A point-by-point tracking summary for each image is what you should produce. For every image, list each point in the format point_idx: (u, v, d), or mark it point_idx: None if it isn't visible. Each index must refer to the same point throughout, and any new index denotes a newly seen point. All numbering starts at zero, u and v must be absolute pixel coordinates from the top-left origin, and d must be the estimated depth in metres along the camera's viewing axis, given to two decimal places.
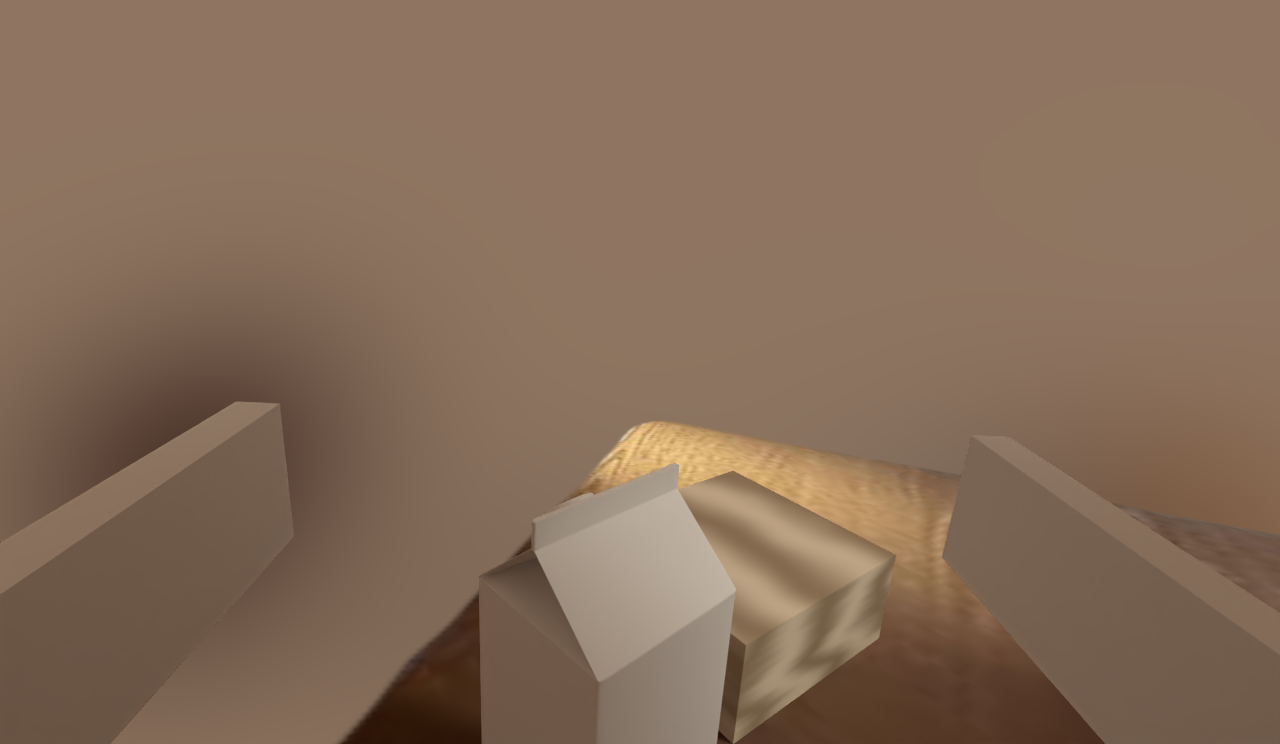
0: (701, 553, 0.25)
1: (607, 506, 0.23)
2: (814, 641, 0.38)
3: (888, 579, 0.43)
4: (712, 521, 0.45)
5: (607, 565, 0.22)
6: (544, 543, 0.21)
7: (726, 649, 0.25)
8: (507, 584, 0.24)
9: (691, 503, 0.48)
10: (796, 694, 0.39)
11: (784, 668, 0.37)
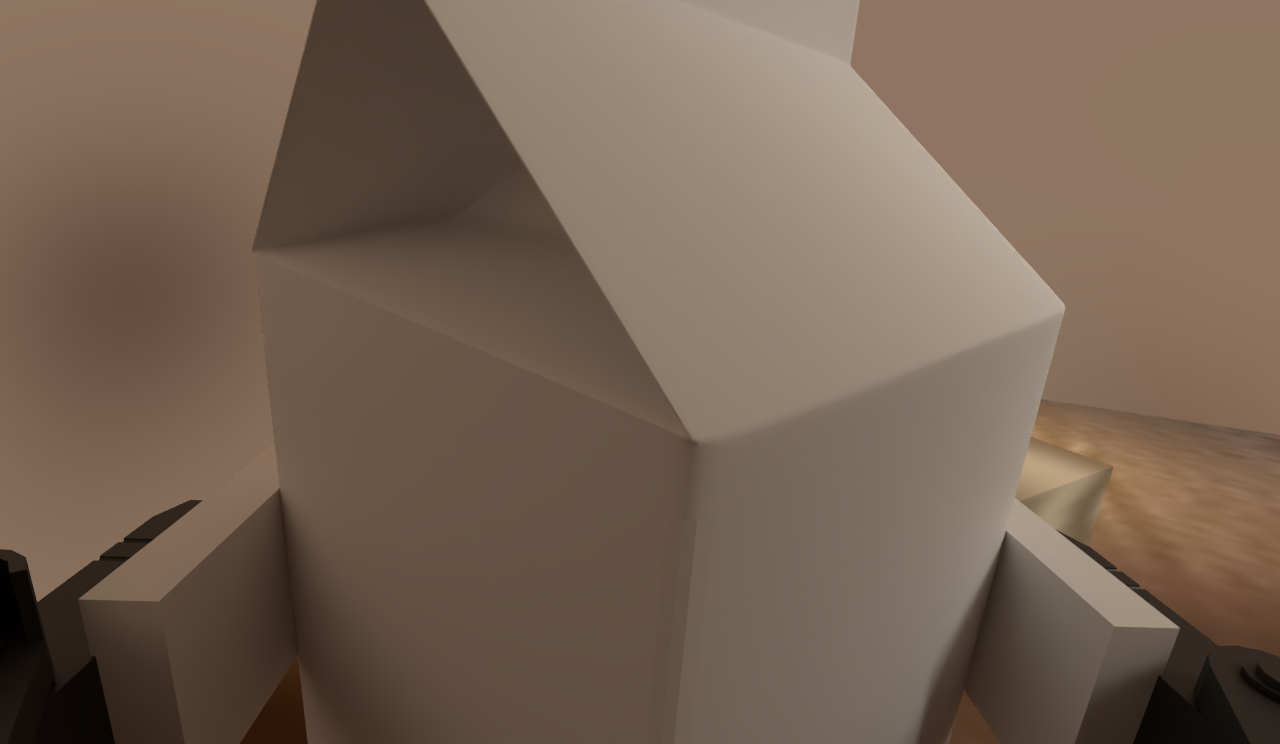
0: None
1: None
2: None
3: (1096, 509, 0.25)
4: None
5: (687, 81, 0.05)
6: None
7: (1012, 504, 0.08)
8: (331, 253, 0.07)
9: None
10: None
11: None
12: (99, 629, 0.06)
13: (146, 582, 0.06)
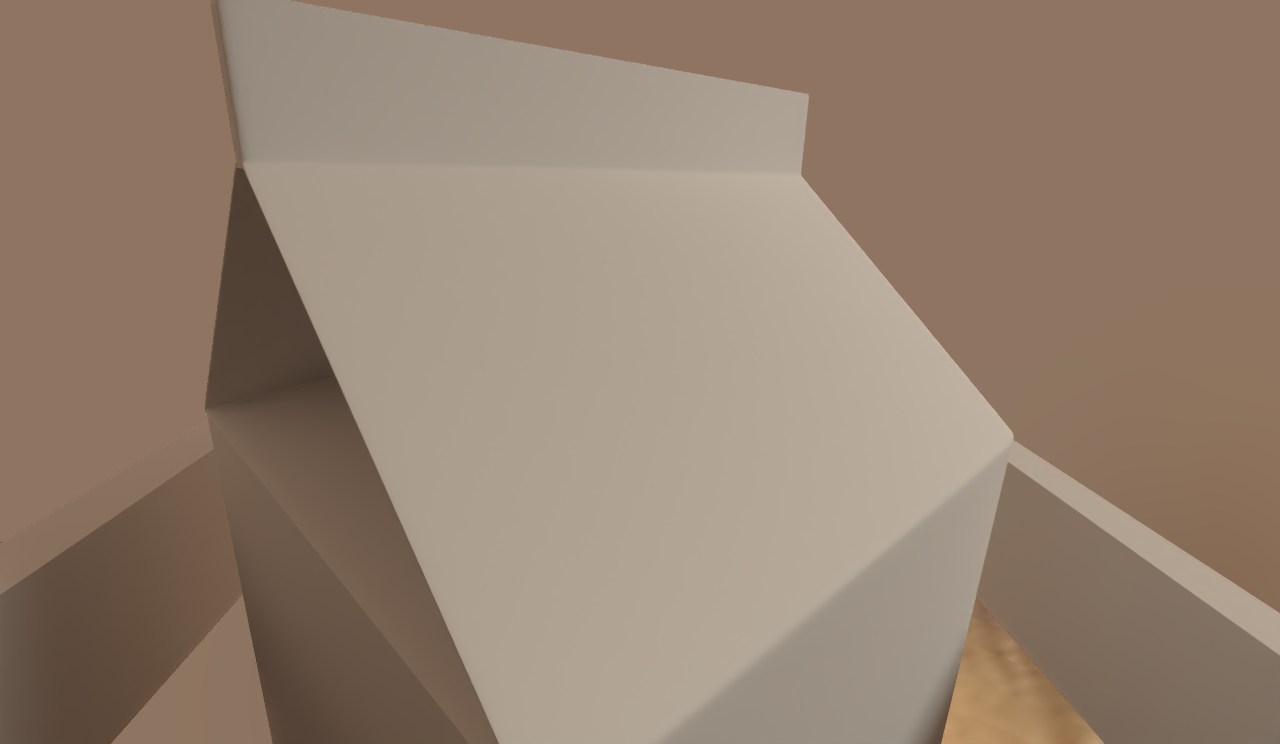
0: (895, 332, 0.08)
1: (597, 116, 0.06)
2: None
3: None
4: None
5: (599, 290, 0.05)
6: (301, 144, 0.05)
7: None
8: (277, 420, 0.07)
9: None
10: None
11: None
12: None
13: None
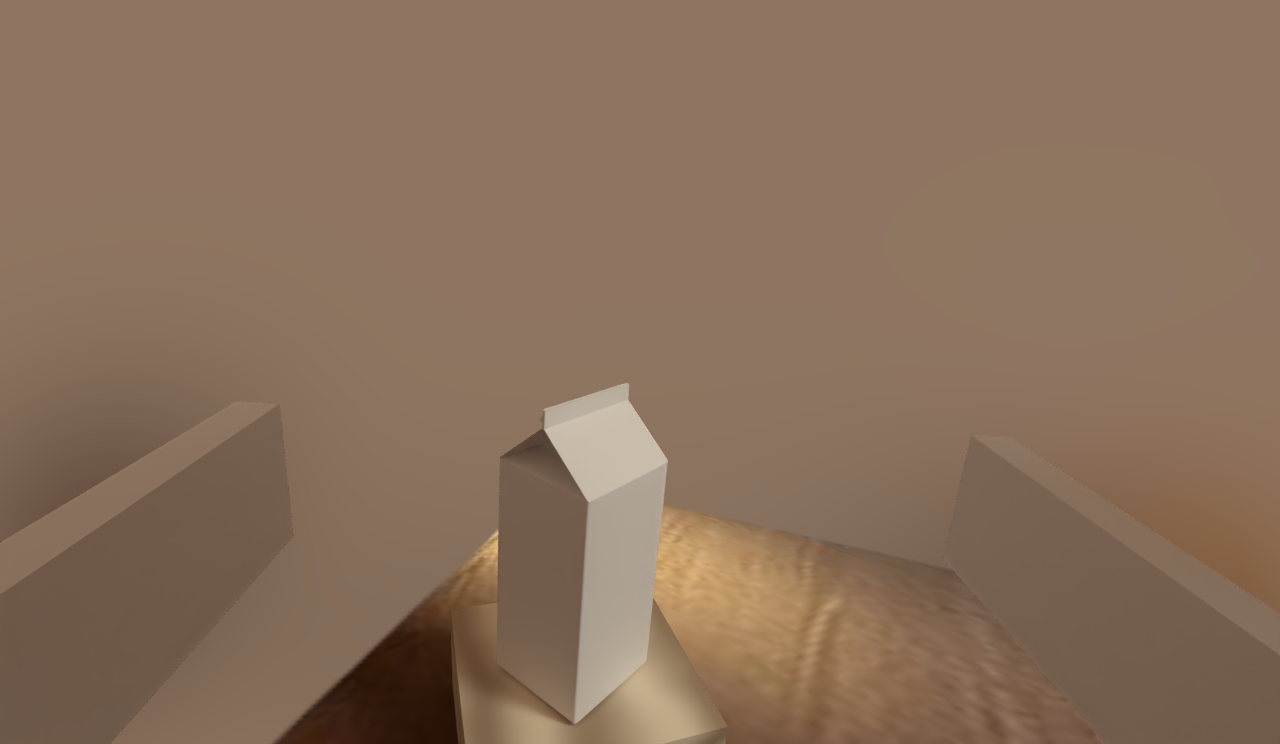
0: (645, 439, 0.38)
1: (585, 406, 0.36)
2: None
3: None
4: None
5: (588, 440, 0.35)
6: (549, 425, 0.34)
7: (662, 501, 0.39)
8: (520, 460, 0.36)
9: None
10: None
11: None
12: None
13: None
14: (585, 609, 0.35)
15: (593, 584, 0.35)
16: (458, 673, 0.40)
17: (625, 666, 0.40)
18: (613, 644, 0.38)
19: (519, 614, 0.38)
